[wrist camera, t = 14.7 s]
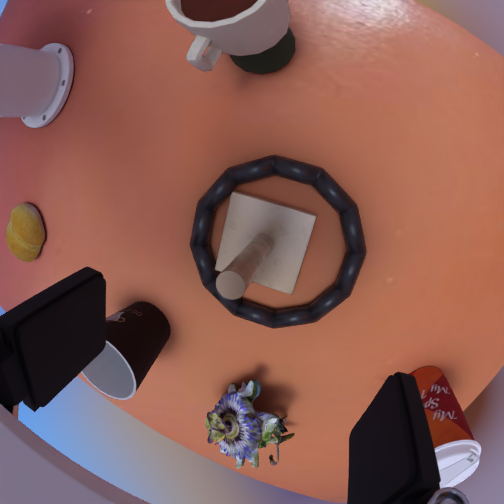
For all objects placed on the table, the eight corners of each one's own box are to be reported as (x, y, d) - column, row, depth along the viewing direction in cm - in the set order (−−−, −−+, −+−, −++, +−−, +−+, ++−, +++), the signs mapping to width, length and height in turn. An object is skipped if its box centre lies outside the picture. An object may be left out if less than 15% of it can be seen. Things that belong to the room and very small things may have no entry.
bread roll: (52, 226, 37) (32, 233, 33) (37, 266, 40) (19, 274, 36) (26, 189, 37) (6, 194, 33) (12, 231, 40) (-5, 237, 36)
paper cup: (430, 347, 29) (465, 440, 16) (461, 378, 29) (494, 463, 16) (379, 388, 32) (388, 485, 19) (414, 414, 32) (428, 501, 19)
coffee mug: (178, 303, 35) (131, 349, 25) (178, 360, 37) (140, 410, 28) (101, 279, 37) (48, 312, 28) (106, 334, 40) (62, 371, 30)
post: (218, 265, 32) (168, 315, 22) (235, 190, 29) (184, 208, 19) (293, 290, 31) (273, 353, 21) (317, 213, 28) (309, 246, 18)
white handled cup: (256, -4, 23) (212, -78, 11) (321, 18, 22) (311, -61, 10) (206, 81, 27) (130, 42, 15) (270, 108, 26) (225, 72, 14)
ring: (185, 291, 34) (178, 298, 32) (215, 140, 28) (208, 139, 27) (329, 339, 32) (329, 349, 30) (385, 188, 26) (389, 190, 24)
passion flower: (247, 364, 42) (231, 366, 30) (313, 402, 39) (322, 419, 27) (205, 425, 39) (176, 446, 28) (270, 464, 36) (262, 498, 25)
